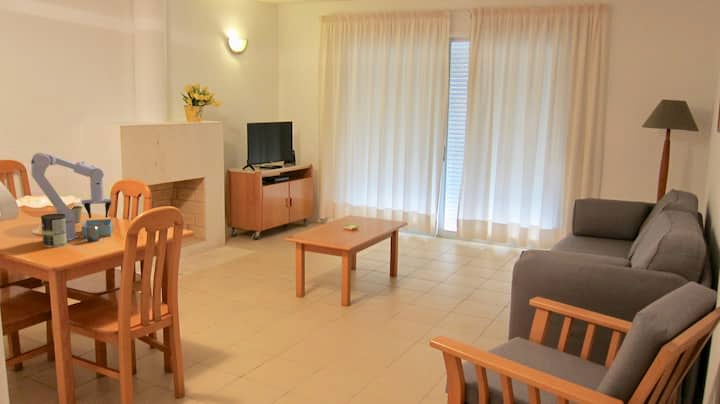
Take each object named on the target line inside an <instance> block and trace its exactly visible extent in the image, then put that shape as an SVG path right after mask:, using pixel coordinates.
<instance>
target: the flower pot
mask: <svg viewBox="0 0 720 404" xmlns="http://www.w3.org/2000/svg"><path fill="white" fill-rule="evenodd" d="M73 206H74V207H73V208H72V209H71V210H72V211H73V212H74V213H75V217H74V223H75V224H79V223H81V219H82V218H81V216H82V210H83V207H84V206H80V205H73Z"/></svg>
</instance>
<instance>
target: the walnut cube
mask: <svg viewBox="0 0 720 404" xmlns="http://www.w3.org/2000/svg"><path fill="white" fill-rule="evenodd" d="M93 226H105V223H94V224H93Z"/></svg>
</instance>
